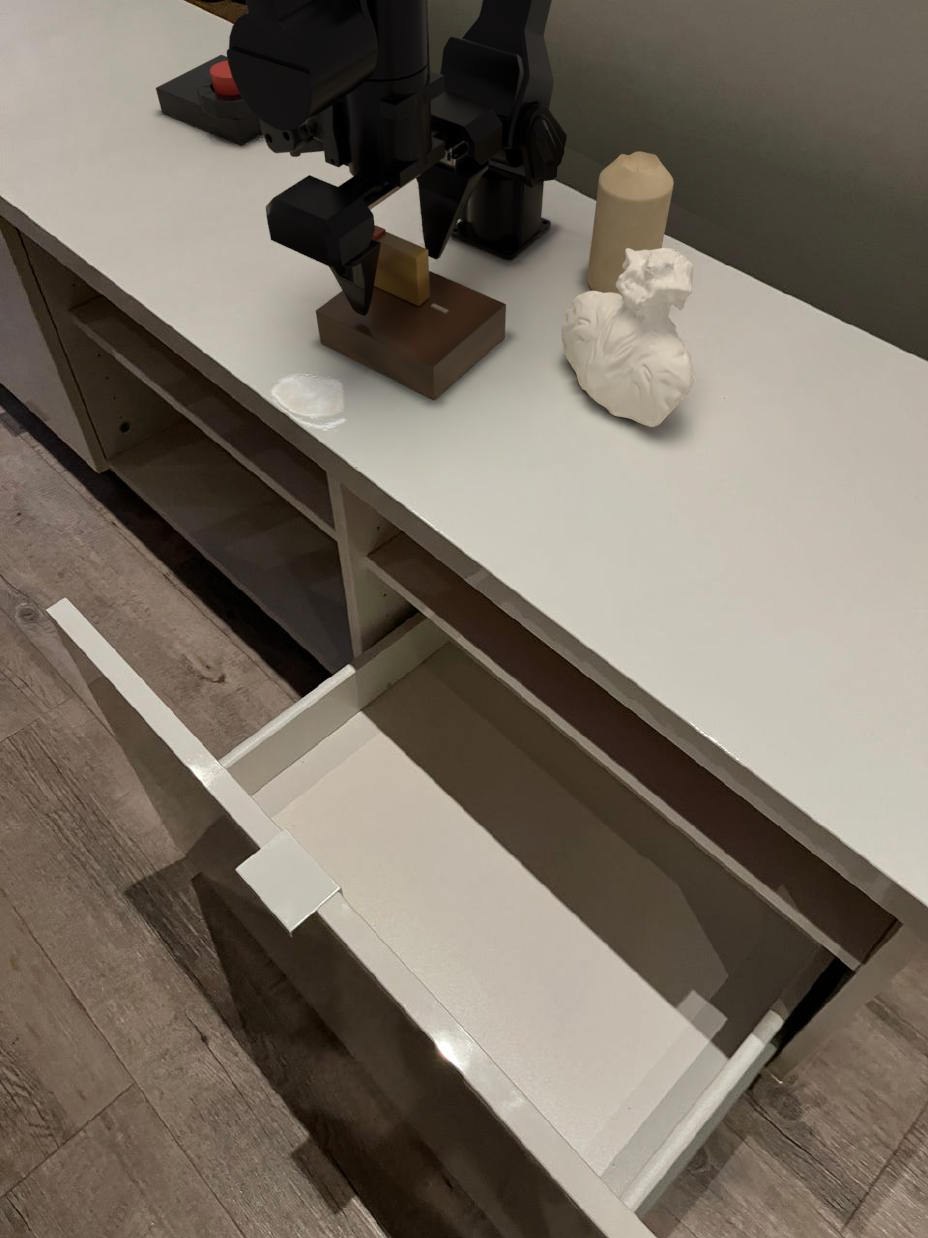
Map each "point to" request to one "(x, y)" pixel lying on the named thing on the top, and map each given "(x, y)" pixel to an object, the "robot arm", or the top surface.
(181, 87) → the push button box
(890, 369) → the top surface
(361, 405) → the top surface
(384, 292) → the plate
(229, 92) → the button
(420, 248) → the thumbturn
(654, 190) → the candle
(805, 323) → the top surface
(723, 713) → the top surface
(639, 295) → the bust
